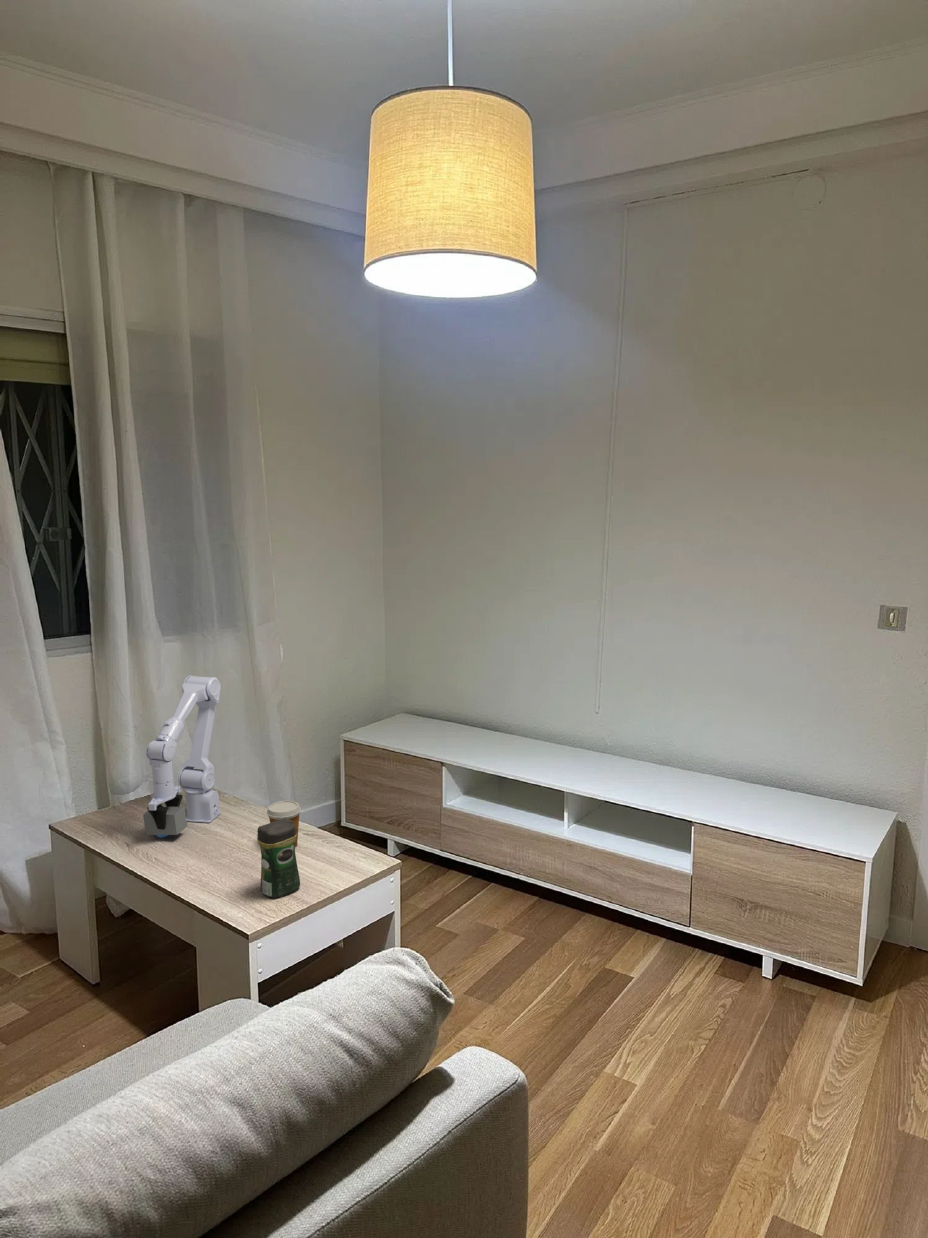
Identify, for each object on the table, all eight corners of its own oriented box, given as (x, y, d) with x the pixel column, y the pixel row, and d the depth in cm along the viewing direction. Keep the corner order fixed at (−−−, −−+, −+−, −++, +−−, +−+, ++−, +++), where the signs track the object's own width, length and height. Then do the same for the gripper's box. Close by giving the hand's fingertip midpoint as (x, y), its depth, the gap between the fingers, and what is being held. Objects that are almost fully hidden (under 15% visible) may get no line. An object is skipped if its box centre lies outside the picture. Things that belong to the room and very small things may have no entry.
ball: (168, 814, 264) (156, 822, 266) (159, 821, 259) (147, 829, 261) (178, 828, 264) (165, 836, 266) (168, 835, 260) (156, 843, 261)
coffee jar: (288, 879, 236) (284, 812, 232) (304, 889, 230) (301, 821, 226) (255, 891, 229) (251, 823, 226) (271, 902, 223) (267, 832, 220)
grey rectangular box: (187, 826, 264) (184, 806, 263) (176, 835, 259) (174, 814, 258) (156, 826, 266) (154, 806, 265) (145, 834, 261) (143, 814, 260)
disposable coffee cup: (299, 853, 251) (296, 813, 248) (265, 853, 251) (262, 813, 249) (305, 838, 260) (303, 799, 258) (273, 839, 260) (270, 800, 258)
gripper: (164, 771, 267) (167, 813, 270) (137, 788, 253) (141, 833, 256) (185, 772, 266) (189, 815, 268) (159, 790, 252) (163, 835, 255)
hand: (167, 824), depth 262 cm, fingers closed on grey rectangular box, 6 cm apart
